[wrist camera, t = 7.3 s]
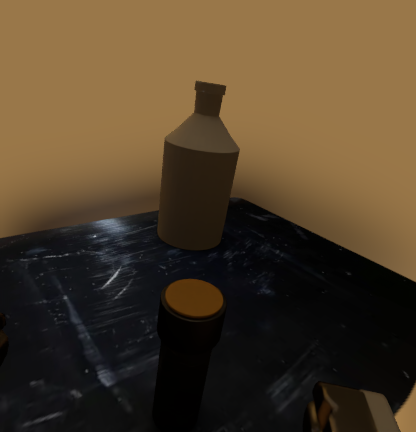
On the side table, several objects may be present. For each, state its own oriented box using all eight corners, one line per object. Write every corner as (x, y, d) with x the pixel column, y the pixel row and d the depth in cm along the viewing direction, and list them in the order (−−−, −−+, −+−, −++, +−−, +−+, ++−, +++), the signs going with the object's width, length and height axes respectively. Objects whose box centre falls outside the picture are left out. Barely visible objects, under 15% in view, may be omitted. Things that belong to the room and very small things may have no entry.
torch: (157, 451, 24) (175, 325, 19) (140, 397, 28) (152, 281, 23) (211, 429, 26) (240, 311, 21) (189, 382, 30) (209, 272, 25)
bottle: (141, 233, 55) (153, 74, 45) (181, 214, 64) (198, 80, 55) (200, 259, 50) (228, 87, 40) (233, 235, 60) (262, 91, 50)
